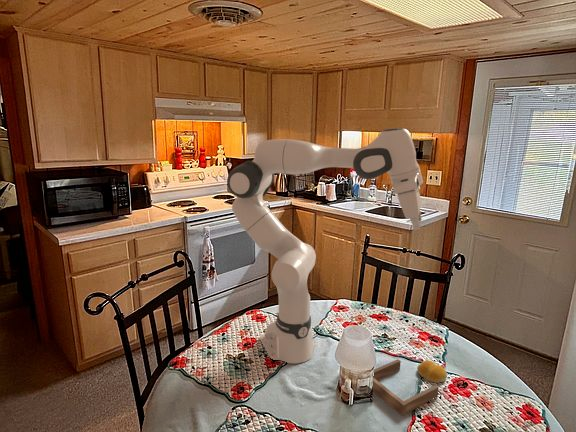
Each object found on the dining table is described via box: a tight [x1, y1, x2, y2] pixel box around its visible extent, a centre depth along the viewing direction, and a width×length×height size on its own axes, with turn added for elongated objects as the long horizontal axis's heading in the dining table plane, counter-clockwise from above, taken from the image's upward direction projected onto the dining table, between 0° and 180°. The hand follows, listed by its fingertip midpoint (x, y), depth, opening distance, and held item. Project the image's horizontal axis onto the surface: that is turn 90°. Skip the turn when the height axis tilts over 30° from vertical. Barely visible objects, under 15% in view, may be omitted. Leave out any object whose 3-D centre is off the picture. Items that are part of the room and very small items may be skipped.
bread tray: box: [373, 358, 439, 416], centre depth 122 cm, size 16×15×4 cm
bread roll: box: [417, 359, 448, 383], centre depth 130 cm, size 8×9×4 cm
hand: (418, 225), depth 118 cm, fingers open, 8 cm apart
